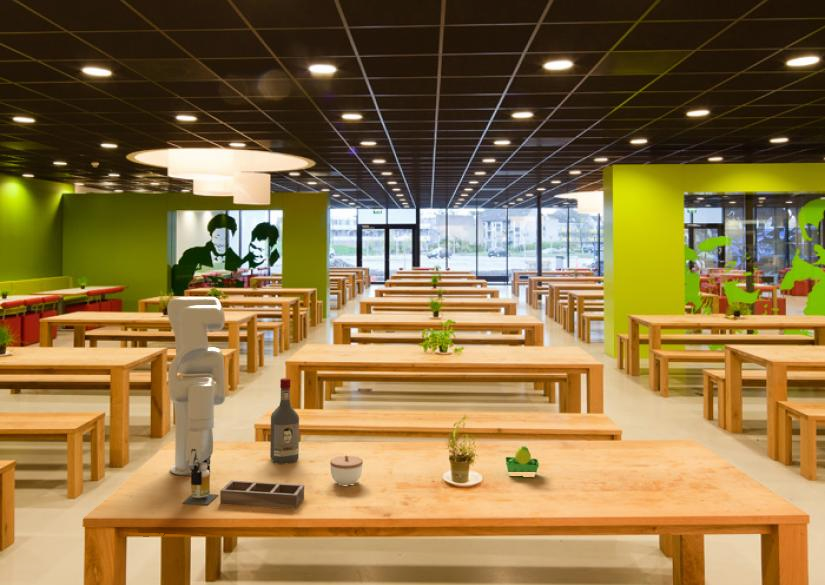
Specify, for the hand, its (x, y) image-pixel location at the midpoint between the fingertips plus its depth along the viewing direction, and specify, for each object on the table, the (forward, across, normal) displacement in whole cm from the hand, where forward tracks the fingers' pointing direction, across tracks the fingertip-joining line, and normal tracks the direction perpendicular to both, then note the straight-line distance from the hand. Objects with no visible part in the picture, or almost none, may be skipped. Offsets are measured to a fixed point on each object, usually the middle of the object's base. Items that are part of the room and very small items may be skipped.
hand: (200, 480), depth 207 cm
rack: (+6, -2, +19) cm, 20 cm away
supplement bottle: (+5, 0, 0) cm, 5 cm away
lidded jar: (+6, -22, +41) cm, 47 cm away
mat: (+6, 0, 0) cm, 6 cm away
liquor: (+6, -42, +14) cm, 45 cm away
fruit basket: (+6, -40, +100) cm, 108 cm away
